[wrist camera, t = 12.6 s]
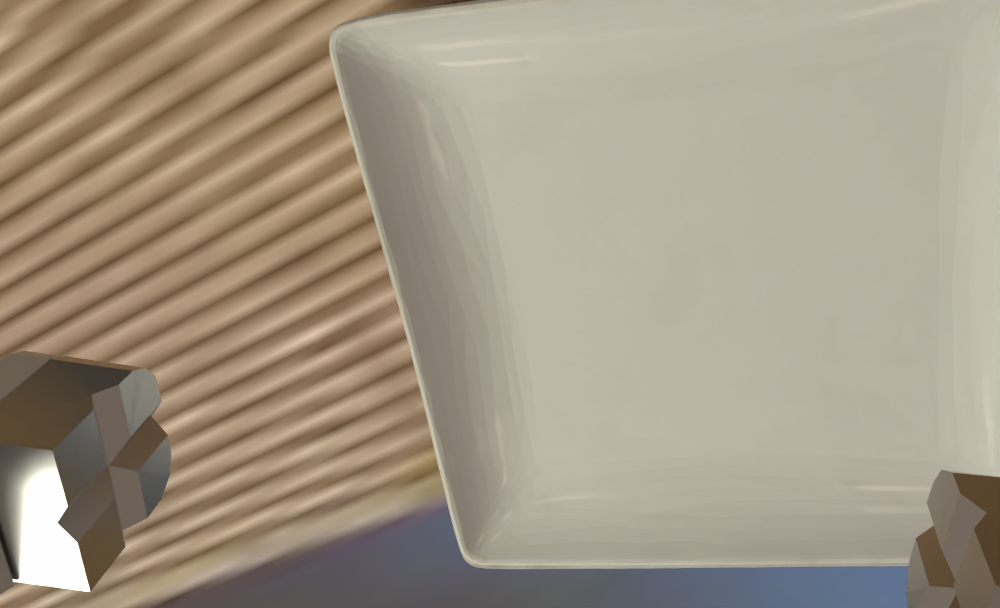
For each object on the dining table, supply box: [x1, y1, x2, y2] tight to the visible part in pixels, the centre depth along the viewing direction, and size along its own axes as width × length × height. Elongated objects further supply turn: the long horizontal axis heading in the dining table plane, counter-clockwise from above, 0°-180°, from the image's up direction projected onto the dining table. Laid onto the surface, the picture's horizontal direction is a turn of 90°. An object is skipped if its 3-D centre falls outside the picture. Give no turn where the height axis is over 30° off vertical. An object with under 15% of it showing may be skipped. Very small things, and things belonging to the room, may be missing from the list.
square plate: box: [329, 0, 1000, 569], centre depth 39 cm, size 27×27×4 cm
